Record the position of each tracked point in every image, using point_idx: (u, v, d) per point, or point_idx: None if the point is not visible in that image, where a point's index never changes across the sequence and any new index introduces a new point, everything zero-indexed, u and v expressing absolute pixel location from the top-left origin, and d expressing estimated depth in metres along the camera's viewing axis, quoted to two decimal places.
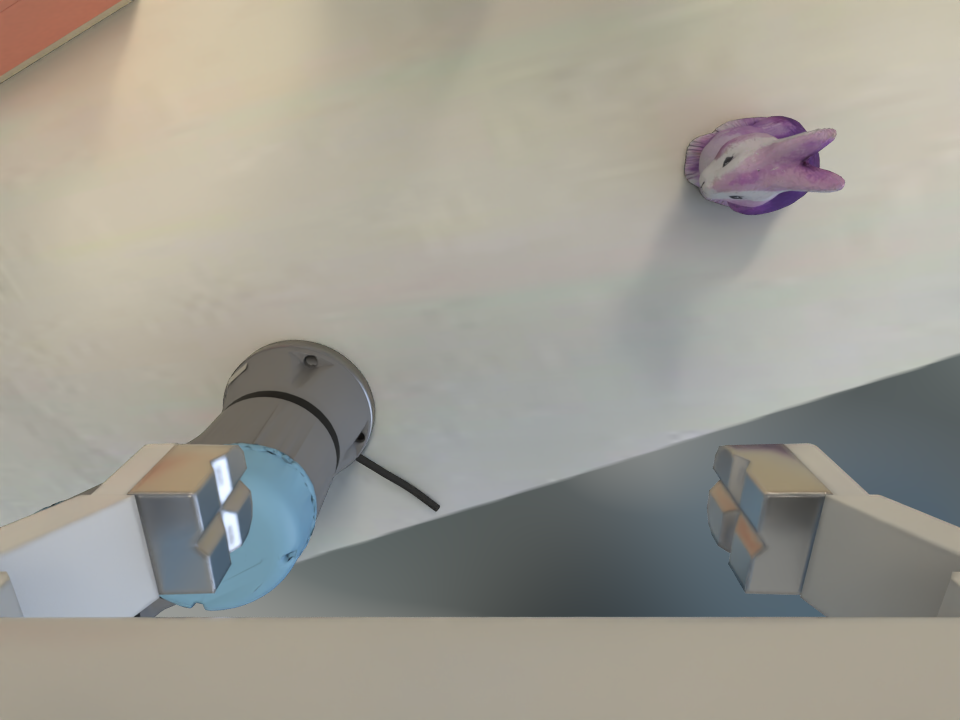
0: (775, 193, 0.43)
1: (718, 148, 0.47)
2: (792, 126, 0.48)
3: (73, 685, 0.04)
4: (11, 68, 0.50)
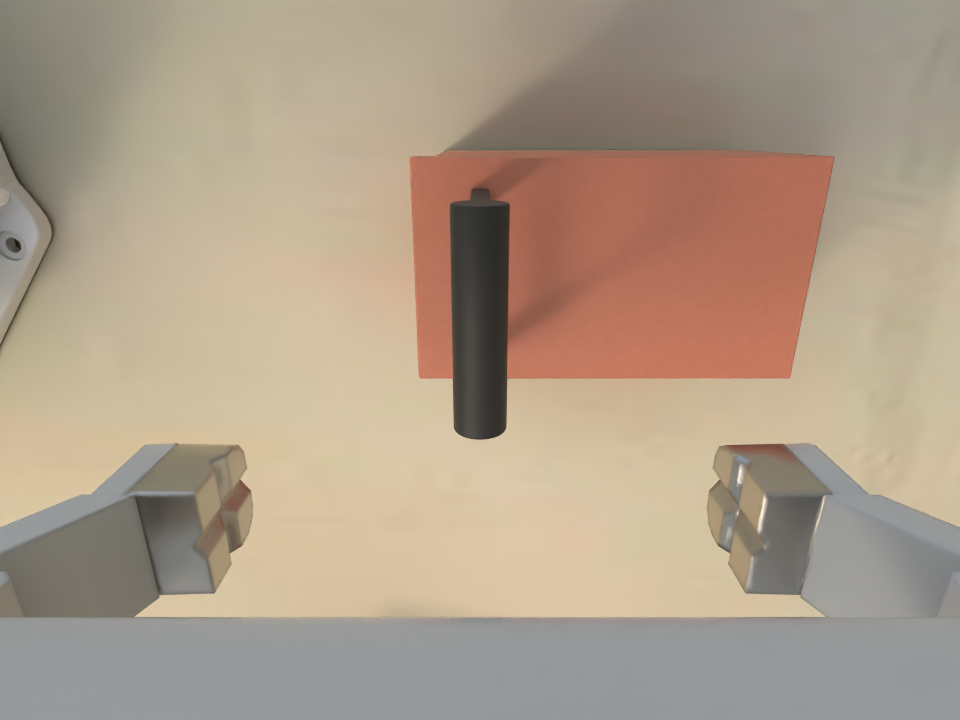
0: None
1: None
2: None
3: (73, 685, 0.04)
4: (681, 151, 0.32)
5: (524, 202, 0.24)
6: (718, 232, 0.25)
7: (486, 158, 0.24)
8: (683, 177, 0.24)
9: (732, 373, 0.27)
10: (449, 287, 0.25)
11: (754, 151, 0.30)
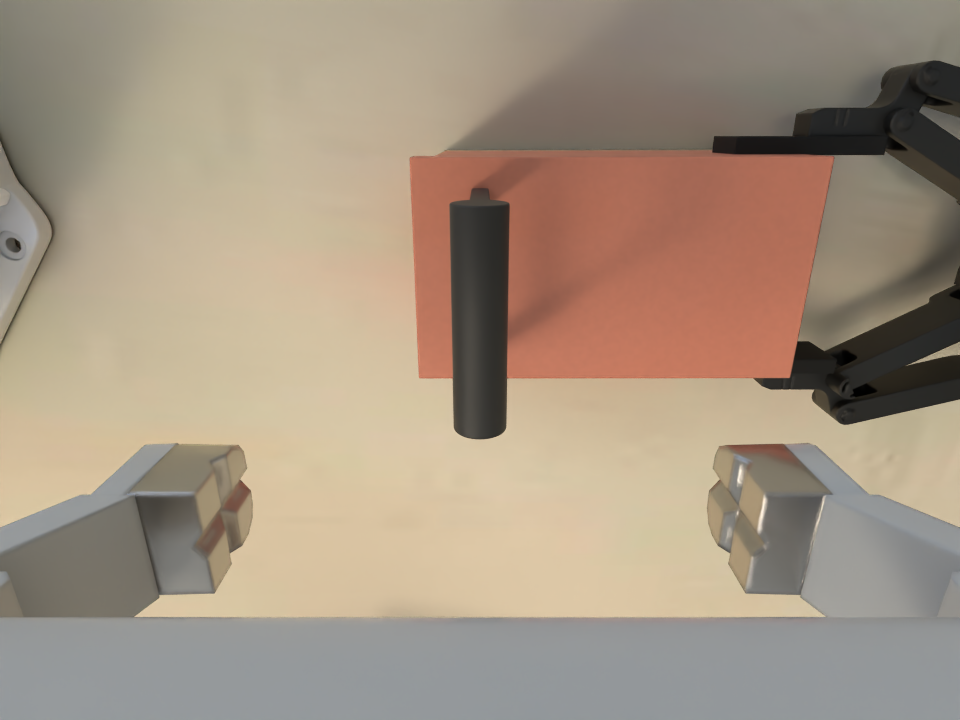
0: None
1: None
2: None
3: (73, 685, 0.04)
4: (681, 150, 0.32)
5: (524, 202, 0.24)
6: (718, 232, 0.25)
7: (486, 158, 0.24)
8: (683, 177, 0.24)
9: (732, 373, 0.27)
10: (449, 287, 0.25)
11: None
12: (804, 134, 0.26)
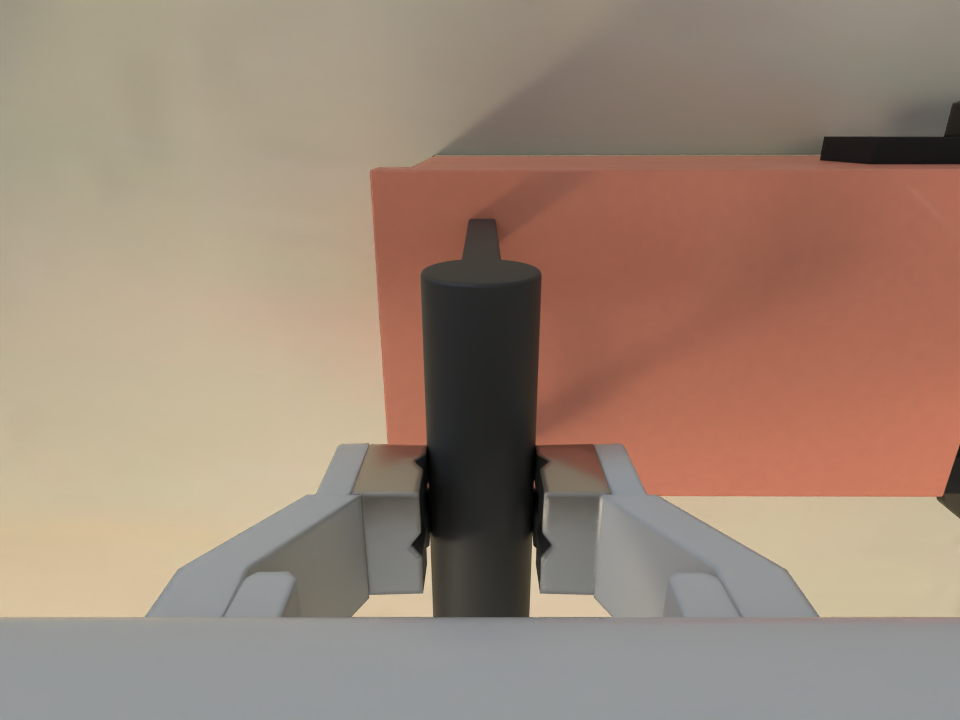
0: None
1: None
2: None
3: (72, 685, 0.04)
4: (759, 156, 0.23)
5: (551, 240, 0.15)
6: (854, 286, 0.16)
7: (492, 171, 0.15)
8: (805, 202, 0.15)
9: (858, 490, 0.18)
10: None
11: None
12: None
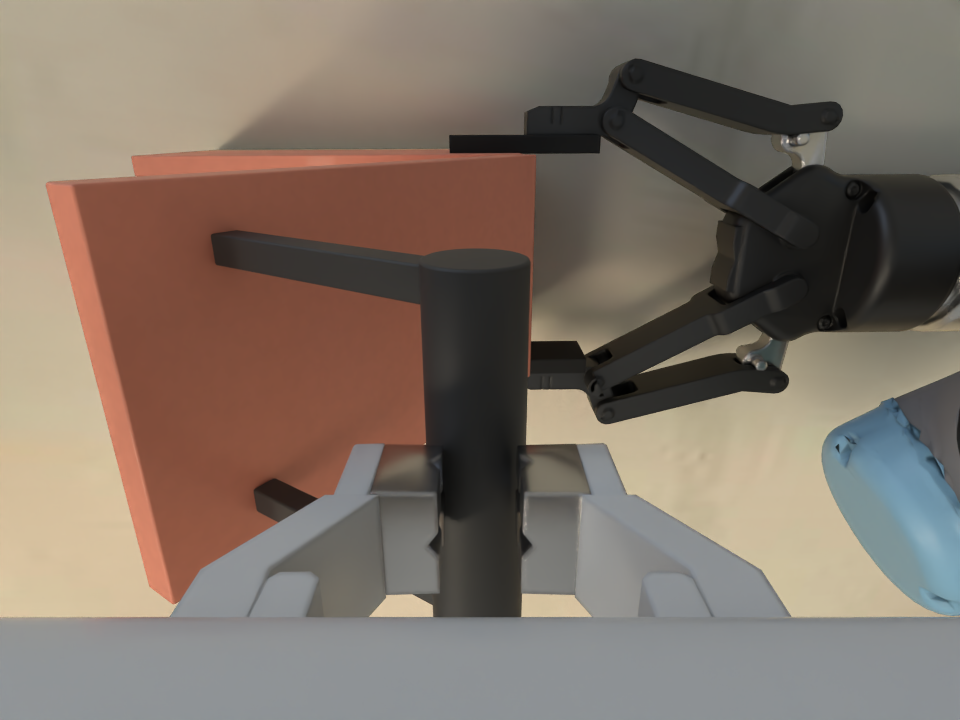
0: None
1: None
2: None
3: (73, 685, 0.04)
4: (449, 149, 0.32)
5: None
6: (477, 245, 0.21)
7: (224, 177, 0.13)
8: (447, 186, 0.19)
9: None
10: (200, 420, 0.14)
11: None
12: (526, 133, 0.26)
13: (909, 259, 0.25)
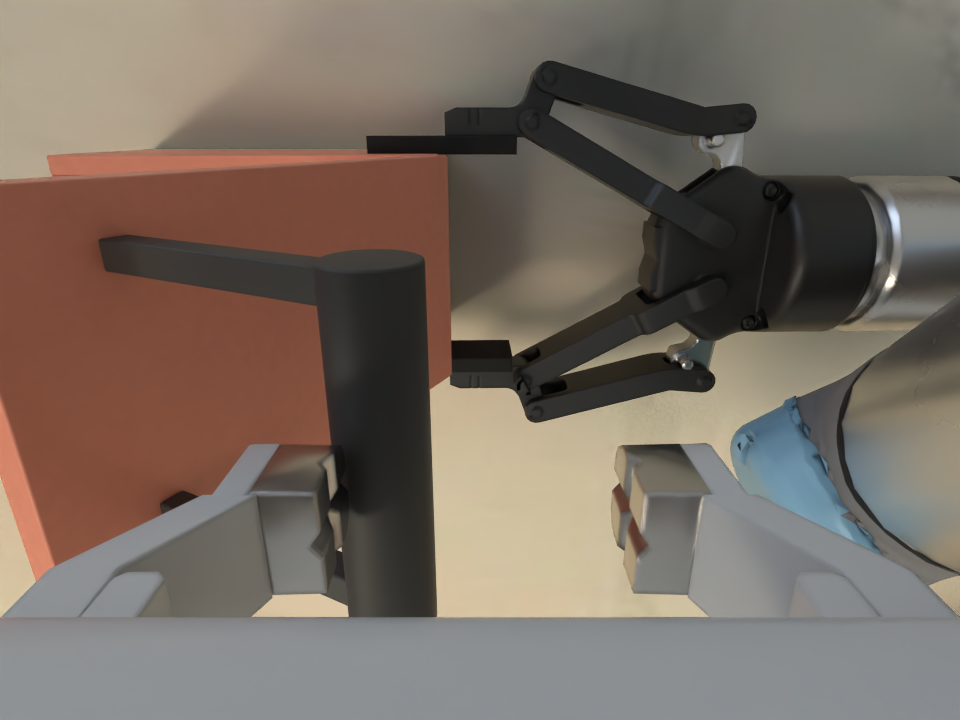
0: None
1: None
2: None
3: (72, 685, 0.04)
4: None
5: None
6: (390, 246, 0.21)
7: (110, 179, 0.12)
8: (356, 187, 0.19)
9: None
10: (96, 434, 0.13)
11: None
12: None
13: (821, 260, 0.25)
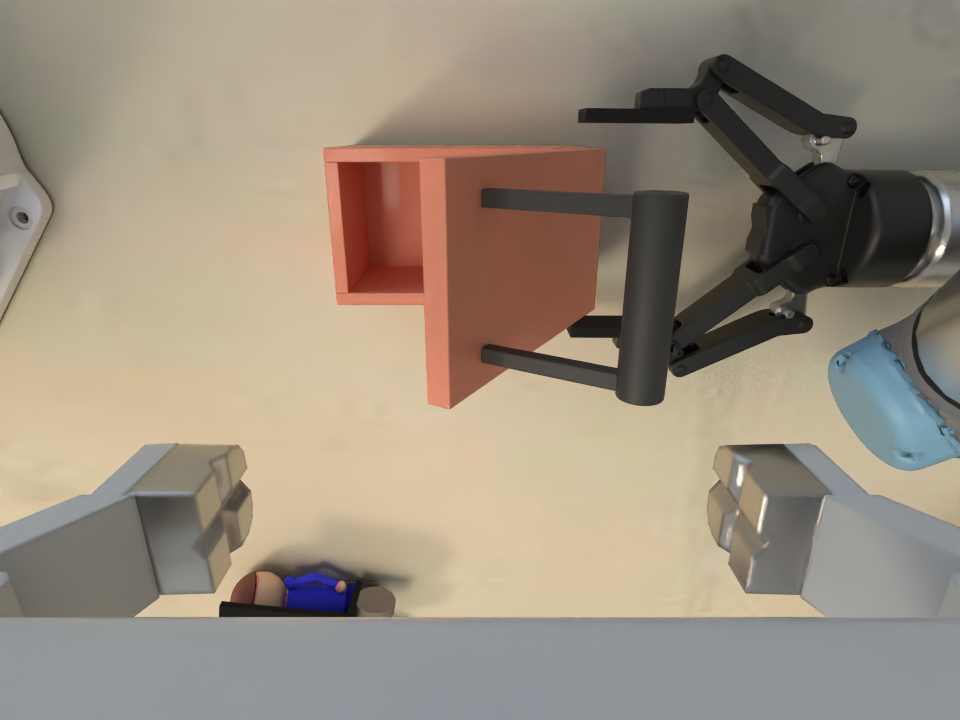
0: None
1: None
2: None
3: (73, 685, 0.04)
4: (529, 146, 0.42)
5: None
6: None
7: (487, 157, 0.23)
8: (566, 167, 0.30)
9: (579, 315, 0.35)
10: (468, 298, 0.23)
11: None
12: (638, 107, 0.36)
13: (892, 230, 0.35)
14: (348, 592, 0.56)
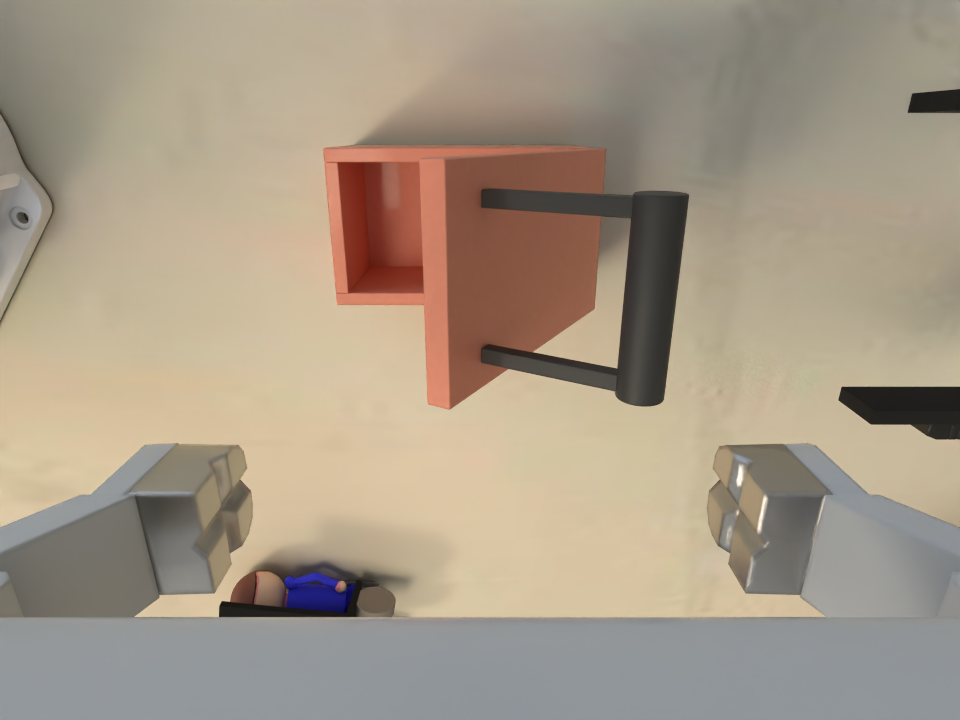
0: None
1: None
2: None
3: (73, 685, 0.04)
4: (529, 146, 0.42)
5: None
6: None
7: (487, 157, 0.23)
8: (566, 168, 0.29)
9: (579, 315, 0.35)
10: (468, 298, 0.23)
11: None
12: None
13: None
14: (348, 592, 0.56)
